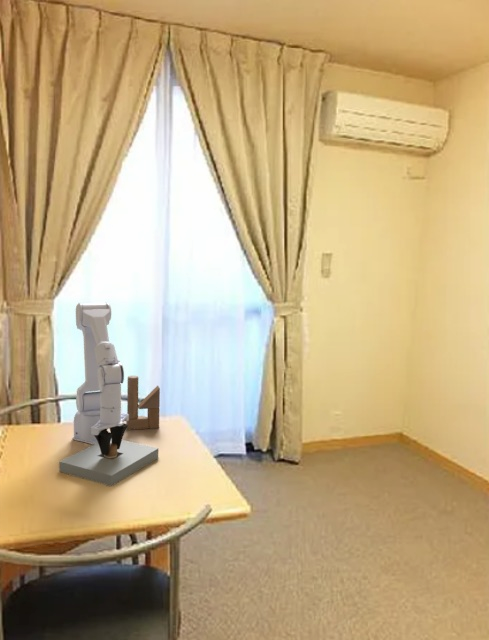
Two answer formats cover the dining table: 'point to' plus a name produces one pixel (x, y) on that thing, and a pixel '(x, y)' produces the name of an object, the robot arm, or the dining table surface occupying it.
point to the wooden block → (142, 407)
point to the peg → (112, 451)
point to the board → (108, 462)
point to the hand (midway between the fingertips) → (110, 451)
